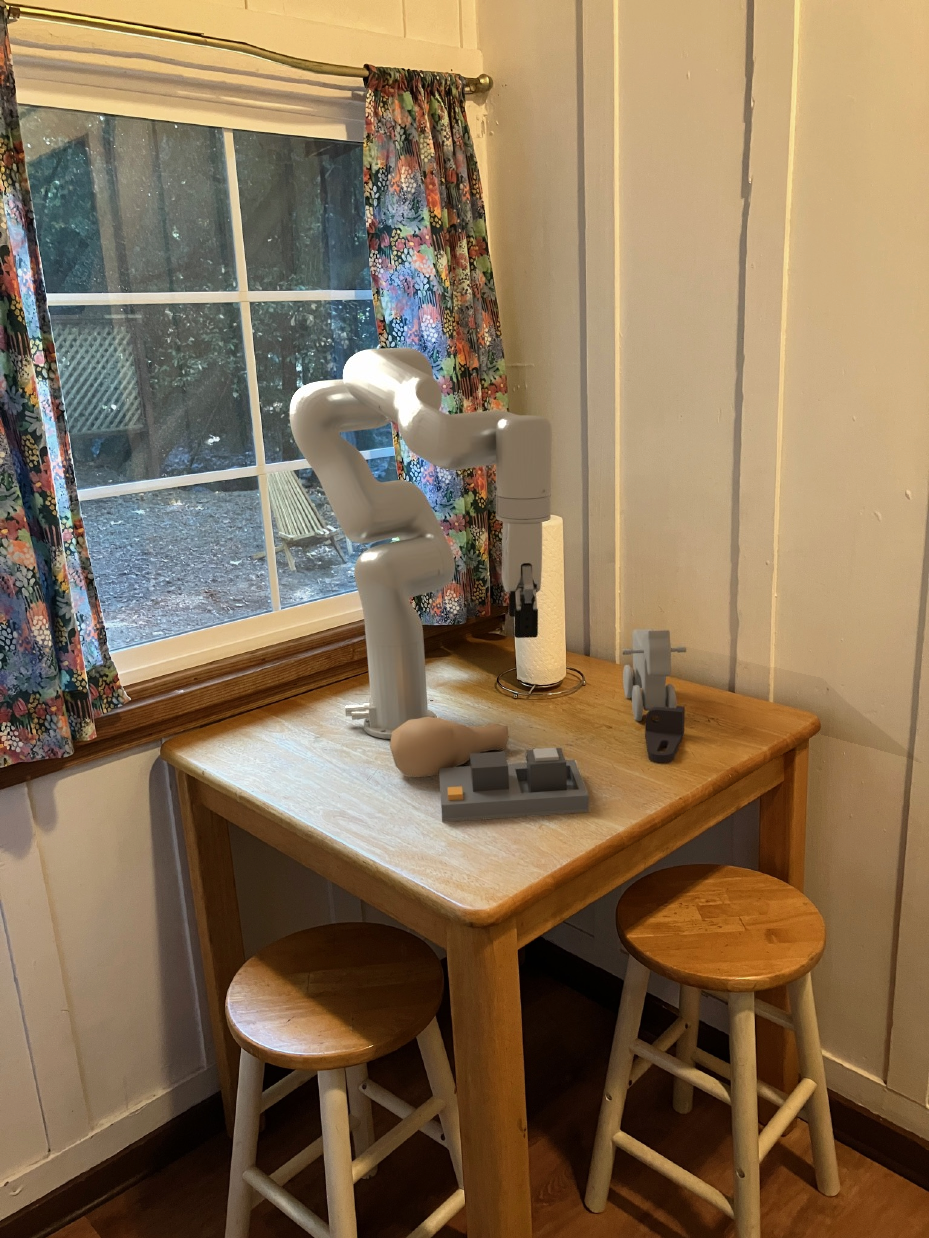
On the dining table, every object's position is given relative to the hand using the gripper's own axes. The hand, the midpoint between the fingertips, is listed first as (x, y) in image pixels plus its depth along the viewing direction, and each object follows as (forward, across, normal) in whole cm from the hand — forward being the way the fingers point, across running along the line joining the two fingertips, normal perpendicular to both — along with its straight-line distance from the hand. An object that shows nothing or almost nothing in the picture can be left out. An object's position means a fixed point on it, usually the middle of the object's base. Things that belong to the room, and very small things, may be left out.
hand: (522, 626), depth 137 cm
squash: (+24, -5, -11) cm, 27 cm away
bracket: (+23, -6, +22) cm, 33 cm away
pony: (+23, -22, +24) cm, 40 cm away
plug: (+22, +8, +3) cm, 24 cm away
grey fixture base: (+23, +8, -2) cm, 24 cm away
